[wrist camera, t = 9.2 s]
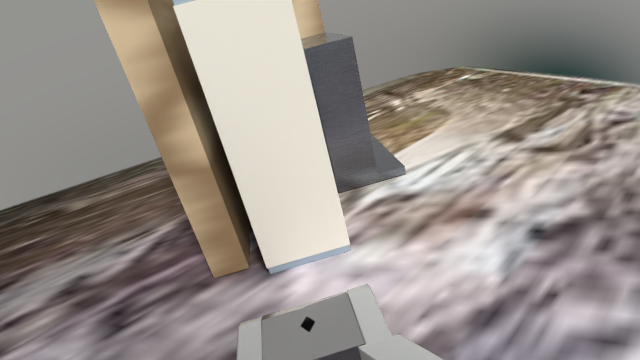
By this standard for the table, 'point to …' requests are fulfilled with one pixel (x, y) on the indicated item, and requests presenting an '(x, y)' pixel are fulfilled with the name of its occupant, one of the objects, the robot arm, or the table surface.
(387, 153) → the metal bookend
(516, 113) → the table surface
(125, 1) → the oak shelf
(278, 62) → the slate book box
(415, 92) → the table surface
